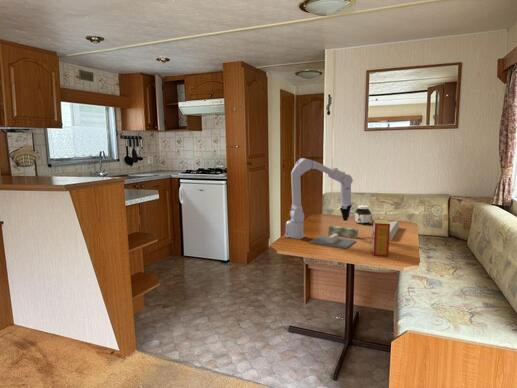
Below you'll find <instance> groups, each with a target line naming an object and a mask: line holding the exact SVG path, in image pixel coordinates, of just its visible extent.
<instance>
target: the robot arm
mask: <svg viewBox="0 0 517 388" xmlns="http://www.w3.org/2000/svg"><path fill="white" fill-rule="evenodd" d="M294 164H295V165H294V167H292V170H291V173H290V178H291V180H290V183H291V184H290V185H291V199H292V200H291V208H290V211H289V216H290V220H287V221H286V223H285V233H284V234H285V235H284V237H285V238H289V237H290V239H297V240H302V239H303V238H305V237H306V236H307V235H306V234H305V235H304V220H305V213H304V210H303V206H302V190H301V189H302V188H301V186H302V185H301V183H302V182H301V176H302V175H304V174H305V173H306V172H308V171H310V170H318V171H320V172H322V173H325V174H327V175H328V176H327V177H328V178H330V179H331V180H334V181H336V182H339V183H340V206H341V207H340V209H339V210H340V212H341V215H342V216H341V217H342V220H343V221H346V222H347V221H348V220H349V217H350V212H351V209H352V205H354V202H352V184H353V181H354V179H353V177H352V176H351V175H350V174H348V173H346V172H345V171H341V170H339V169H338V167H331V168H330V167H328V166H326V165H324V164H322V163H319V162H318V161H315V160H312V159H309V158H304V157H301V158H299V159H298V160H297V161H296V162H295V163H294Z"/></svg>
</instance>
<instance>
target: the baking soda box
mask: <svg viewBox="0 0 517 388" xmlns="http://www.w3.org/2000/svg"><path fill="white" fill-rule="evenodd" d="M389 222H390V221H389V220H388V219H378V218H377V219H376V218H375V219H374V220H373V223H372V234H373V238H372V237H371V238H372V240H371V241H372V242H371V243H372V244H371V252H372V255H373V257H389V251H390V250H389V247H390V245H389V244H390V241H389V234H390V223H389Z"/></svg>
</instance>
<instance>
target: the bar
mask: <svg viewBox="0 0 517 388" xmlns="http://www.w3.org/2000/svg"><path fill="white" fill-rule="evenodd" d="M327 232H328V235H329V236H331V235H333V234H338V237H341V238H342V237H344V238H350V239H354V240H356V239H357V238H359V237H358V236H359V228H353V227H345V226H338V225H329V226H328V231H327ZM328 235H327V236H328Z"/></svg>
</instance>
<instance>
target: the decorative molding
mask: <svg viewBox="0 0 517 388" xmlns="http://www.w3.org/2000/svg"><path fill="white" fill-rule="evenodd" d="M388 222H389V223H390V234H389V242H391V241H393V238H394V237H395V235H396V233H397V232H398V230H399V228H400V225H399V222H398V220H396V221H388ZM371 238H373V233H372V234H371Z"/></svg>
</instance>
